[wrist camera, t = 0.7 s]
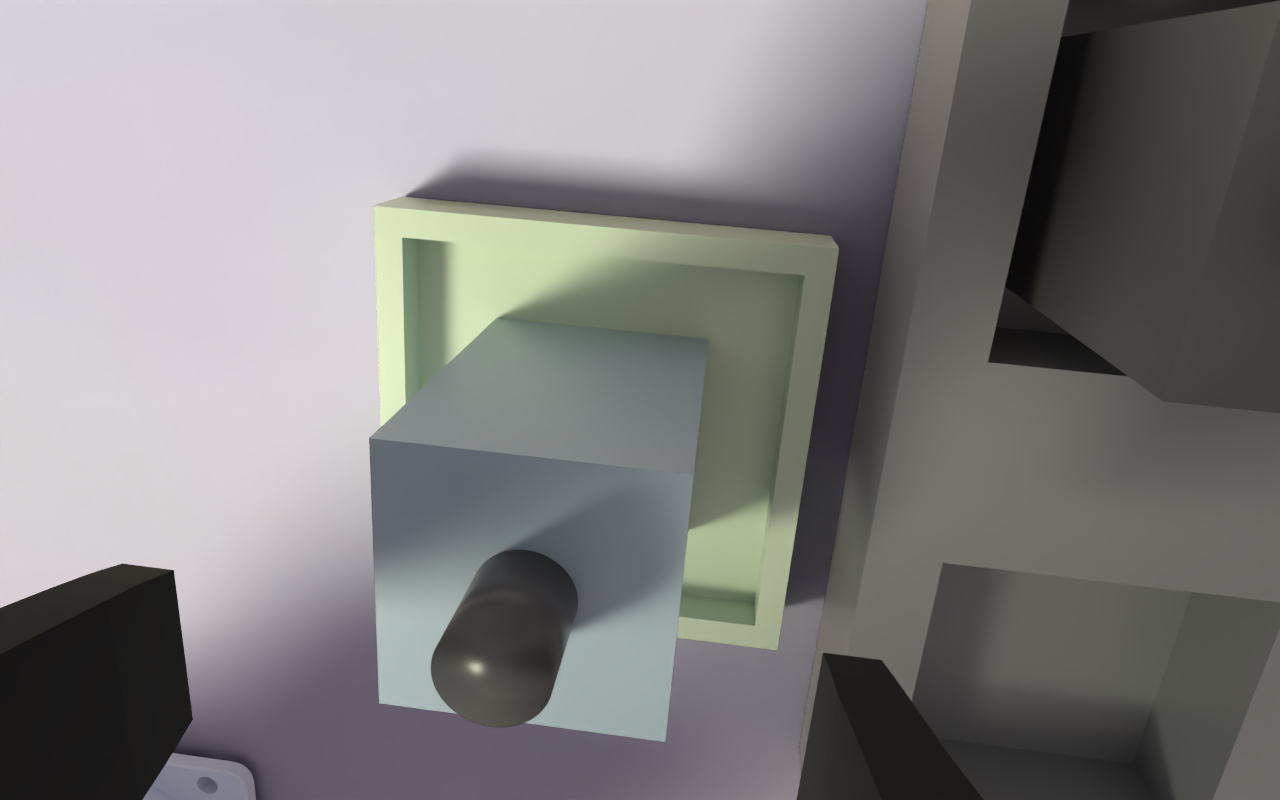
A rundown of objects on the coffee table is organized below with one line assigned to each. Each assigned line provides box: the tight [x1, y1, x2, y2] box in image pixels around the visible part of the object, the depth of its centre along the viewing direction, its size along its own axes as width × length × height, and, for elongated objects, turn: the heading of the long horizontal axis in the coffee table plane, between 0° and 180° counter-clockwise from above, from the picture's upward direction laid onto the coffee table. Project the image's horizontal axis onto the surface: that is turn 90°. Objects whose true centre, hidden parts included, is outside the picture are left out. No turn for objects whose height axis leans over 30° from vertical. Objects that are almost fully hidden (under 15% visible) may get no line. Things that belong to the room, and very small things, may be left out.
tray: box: [373, 197, 839, 650], centre depth 17 cm, size 8×8×1 cm
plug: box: [369, 318, 709, 742], centre depth 13 cm, size 4×4×8 cm
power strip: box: [799, 0, 1280, 800], centre depth 15 cm, size 8×17×3 cm, turn 176°
